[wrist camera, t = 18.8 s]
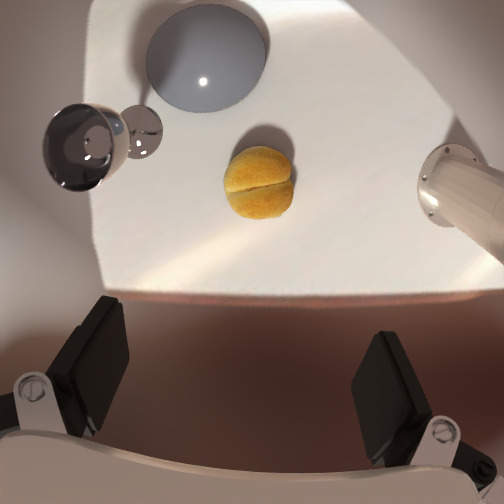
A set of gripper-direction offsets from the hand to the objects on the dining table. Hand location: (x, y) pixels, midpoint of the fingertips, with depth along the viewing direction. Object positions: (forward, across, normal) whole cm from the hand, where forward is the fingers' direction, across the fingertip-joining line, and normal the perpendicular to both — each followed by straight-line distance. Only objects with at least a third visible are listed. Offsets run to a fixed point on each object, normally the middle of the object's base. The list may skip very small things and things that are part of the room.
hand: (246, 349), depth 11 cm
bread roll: (+31, +2, -1) cm, 31 cm away
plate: (+30, +8, -14) cm, 34 cm away
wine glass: (+31, +16, -4) cm, 35 cm away
